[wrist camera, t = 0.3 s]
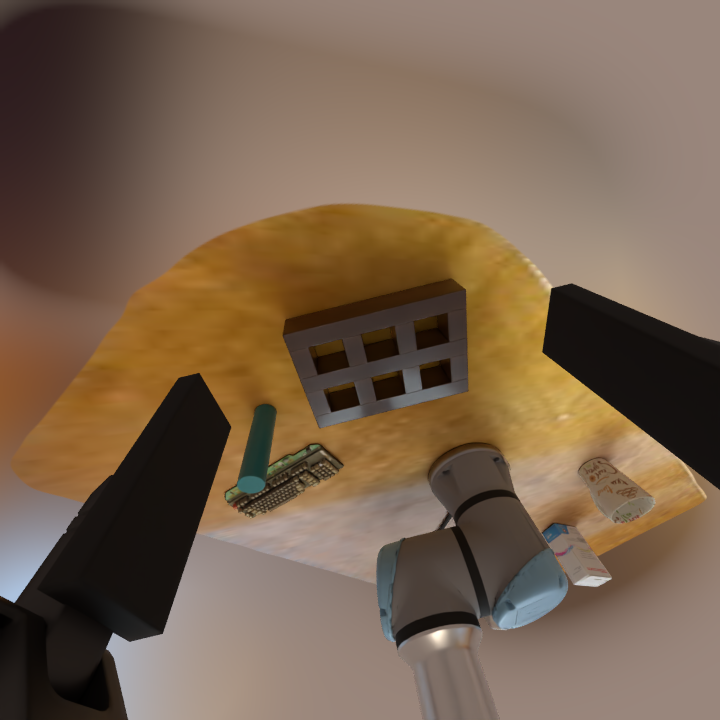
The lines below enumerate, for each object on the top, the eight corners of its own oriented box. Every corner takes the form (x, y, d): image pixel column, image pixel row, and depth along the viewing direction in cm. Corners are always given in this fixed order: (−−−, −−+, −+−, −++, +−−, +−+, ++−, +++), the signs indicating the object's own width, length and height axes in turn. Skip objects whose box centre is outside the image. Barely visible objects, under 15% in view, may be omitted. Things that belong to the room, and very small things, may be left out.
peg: (279, 417, 48) (269, 489, 37) (259, 422, 48) (243, 496, 37) (272, 401, 46) (259, 473, 35) (251, 406, 46) (232, 480, 35)
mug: (615, 449, 64) (661, 492, 55) (602, 485, 70) (642, 528, 62) (576, 459, 64) (616, 503, 55) (567, 494, 70) (602, 538, 62)
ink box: (540, 533, 78) (573, 586, 68) (553, 522, 76) (590, 575, 66) (563, 537, 81) (597, 588, 71) (576, 526, 79) (614, 578, 69)
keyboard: (254, 516, 60) (252, 526, 58) (219, 495, 55) (216, 505, 54) (345, 465, 56) (346, 474, 54) (315, 438, 51) (315, 447, 49)
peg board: (456, 374, 48) (468, 391, 44) (318, 408, 48) (319, 428, 44) (451, 278, 40) (466, 289, 36) (285, 319, 40) (282, 335, 36)
